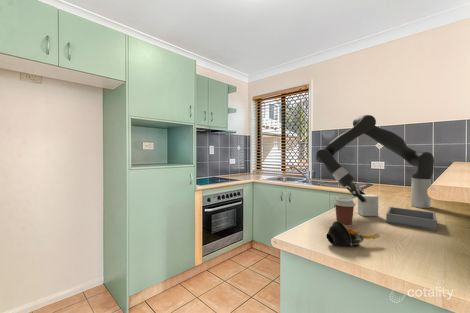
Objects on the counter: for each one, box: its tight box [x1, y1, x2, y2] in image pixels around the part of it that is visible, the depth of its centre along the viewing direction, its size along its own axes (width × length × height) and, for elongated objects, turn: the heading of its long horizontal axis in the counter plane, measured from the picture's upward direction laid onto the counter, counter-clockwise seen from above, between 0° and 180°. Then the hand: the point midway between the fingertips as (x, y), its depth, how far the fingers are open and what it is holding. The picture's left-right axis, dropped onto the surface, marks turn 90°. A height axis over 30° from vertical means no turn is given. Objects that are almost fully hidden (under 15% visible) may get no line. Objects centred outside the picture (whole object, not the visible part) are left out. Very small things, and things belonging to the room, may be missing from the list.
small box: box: [357, 193, 379, 217], centre depth 120 cm, size 8×6×10 cm
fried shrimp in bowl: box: [325, 220, 381, 247], centre depth 84 cm, size 9×11×18 cm
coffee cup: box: [333, 197, 356, 228], centre depth 105 cm, size 9×9×12 cm
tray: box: [385, 206, 438, 232], centre depth 108 cm, size 16×18×4 cm
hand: (366, 200), depth 120 cm, fingers closed on small box, 8 cm apart
